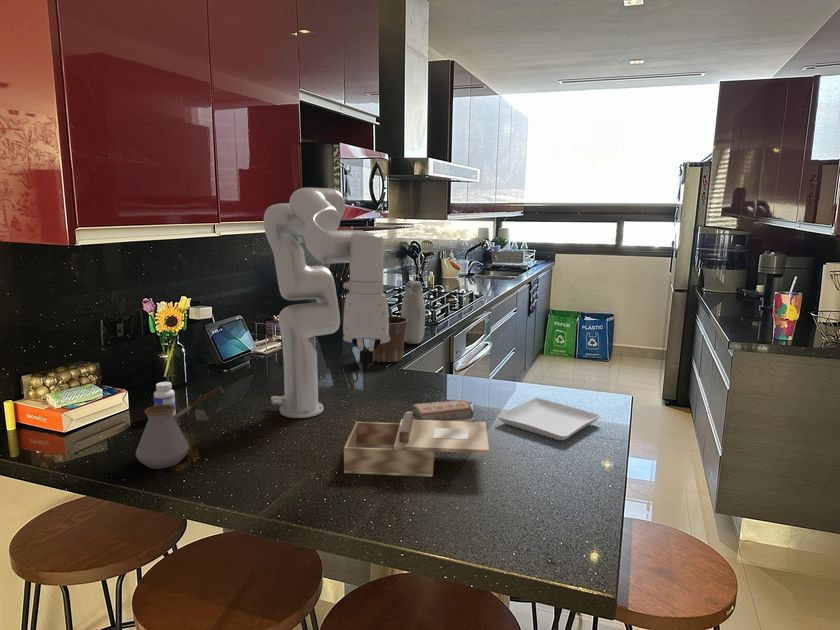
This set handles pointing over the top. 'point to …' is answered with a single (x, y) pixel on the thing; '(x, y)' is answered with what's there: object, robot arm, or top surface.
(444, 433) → the lid
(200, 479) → the top surface
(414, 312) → the glass bottle
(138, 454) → the coffee pot
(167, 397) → the pill bottle
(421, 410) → the packaged product
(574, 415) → the salad plate
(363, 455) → the mailer box
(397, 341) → the plant pot
